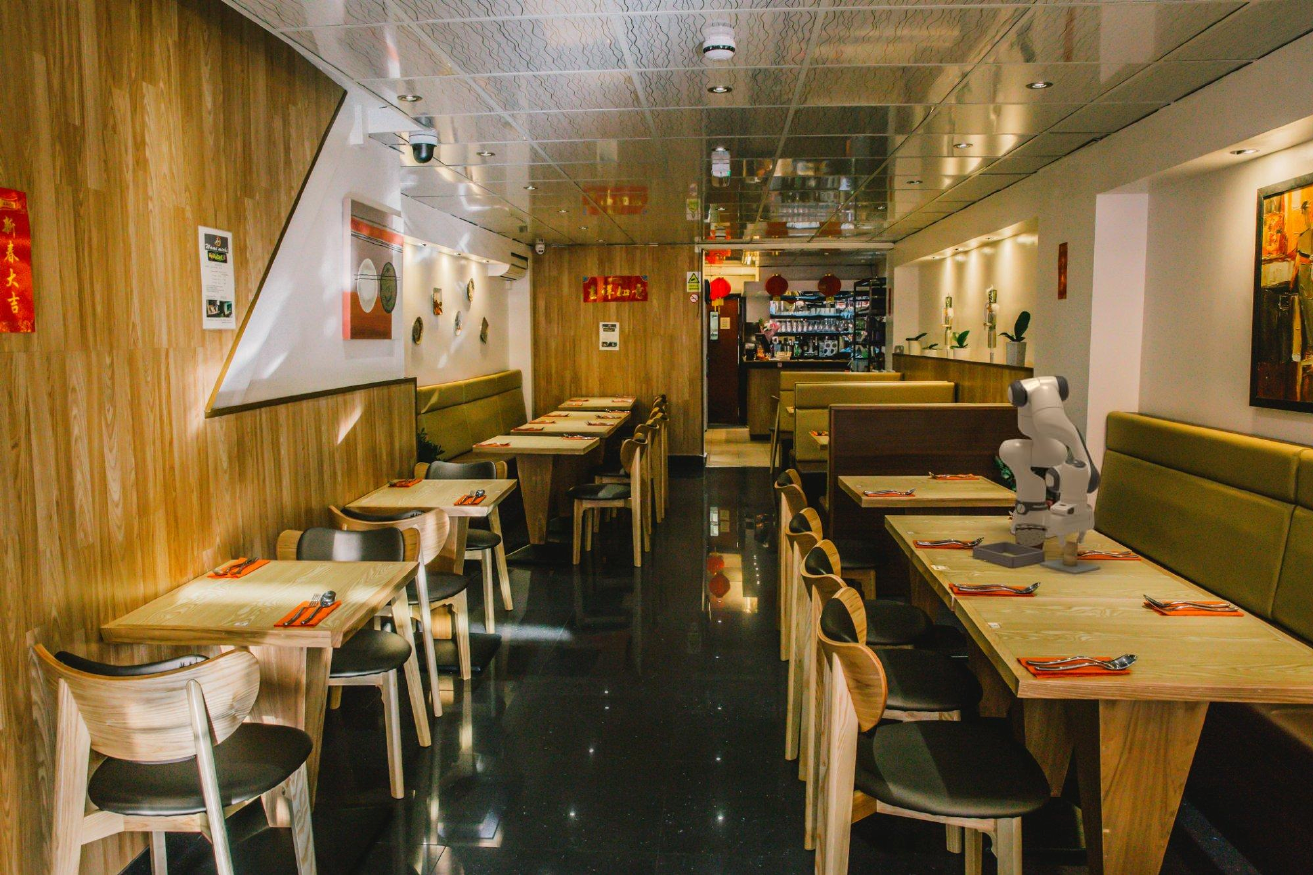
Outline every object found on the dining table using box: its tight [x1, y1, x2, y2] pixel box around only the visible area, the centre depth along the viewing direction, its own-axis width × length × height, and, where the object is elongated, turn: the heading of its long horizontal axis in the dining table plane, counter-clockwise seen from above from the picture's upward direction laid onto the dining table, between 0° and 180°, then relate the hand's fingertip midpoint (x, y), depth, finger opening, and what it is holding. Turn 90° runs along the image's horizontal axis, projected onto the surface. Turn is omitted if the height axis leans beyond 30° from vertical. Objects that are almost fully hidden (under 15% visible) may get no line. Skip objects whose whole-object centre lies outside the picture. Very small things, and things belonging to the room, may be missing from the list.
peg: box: [1062, 540, 1079, 567], centre depth 312 cm, size 4×4×8 cm
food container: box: [1013, 523, 1048, 550], centre depth 337 cm, size 12×6×10 cm, turn 84°
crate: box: [972, 540, 1046, 569], centre depth 324 cm, size 18×18×4 cm
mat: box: [1039, 558, 1101, 575], centre depth 313 cm, size 14×14×1 cm
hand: (1071, 544), depth 312 cm, fingers open, 8 cm apart
